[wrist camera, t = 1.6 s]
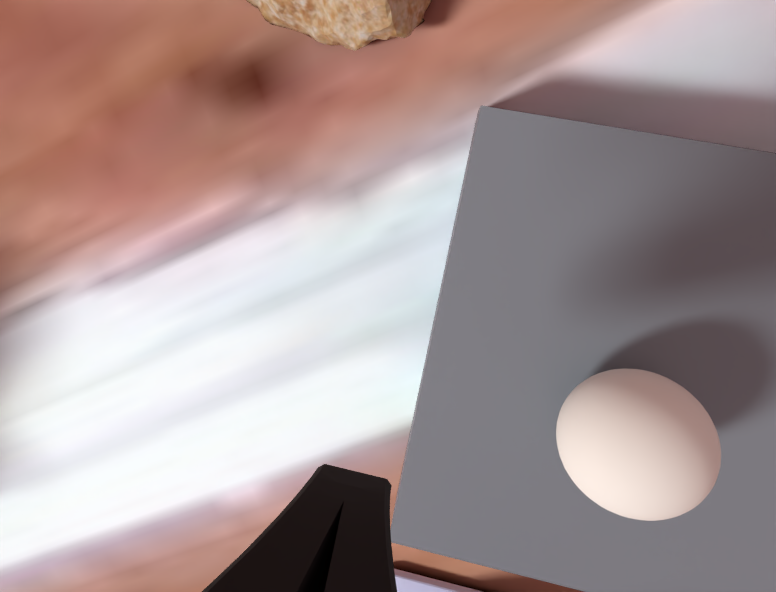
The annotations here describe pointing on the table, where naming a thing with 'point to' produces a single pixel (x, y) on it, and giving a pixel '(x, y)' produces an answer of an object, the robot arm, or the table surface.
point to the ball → (638, 444)
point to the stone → (345, 19)
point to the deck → (597, 352)
